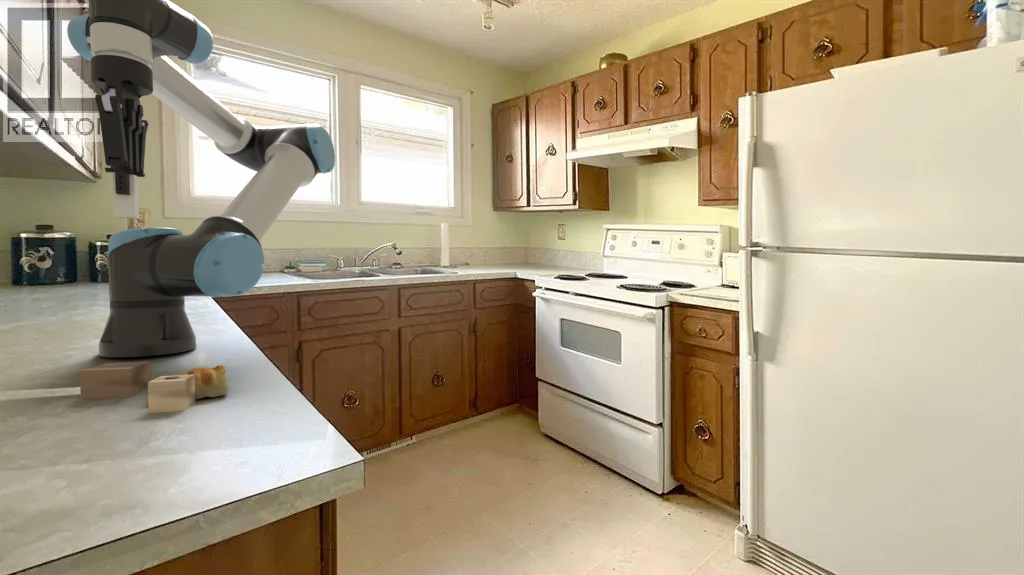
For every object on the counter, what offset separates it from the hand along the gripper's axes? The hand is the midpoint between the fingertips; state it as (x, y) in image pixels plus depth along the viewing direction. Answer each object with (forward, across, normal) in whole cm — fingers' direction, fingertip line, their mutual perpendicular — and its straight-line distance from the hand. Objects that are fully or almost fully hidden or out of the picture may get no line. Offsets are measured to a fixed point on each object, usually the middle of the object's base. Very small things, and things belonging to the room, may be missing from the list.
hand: (126, 217), depth 77 cm
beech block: (+27, +16, +10) cm, 33 cm away
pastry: (+27, +9, +9) cm, 30 cm away
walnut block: (+27, +5, 0) cm, 27 cm away
